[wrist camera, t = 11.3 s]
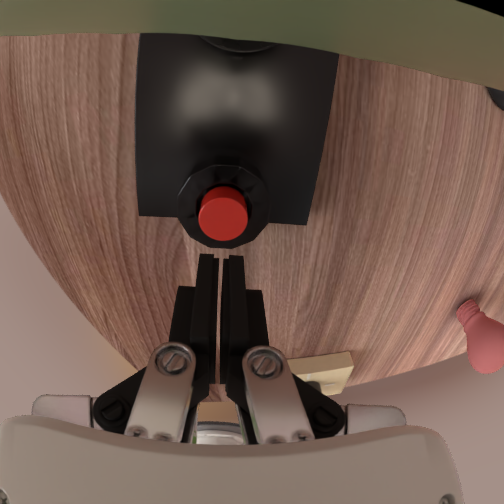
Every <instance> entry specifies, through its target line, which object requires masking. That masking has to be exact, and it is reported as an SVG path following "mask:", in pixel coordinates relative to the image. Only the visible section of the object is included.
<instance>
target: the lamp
mask: <svg viewBox="0 0 504 504" xmlns="http://www.w3.org/2000/svg"><path fill="white" fill-rule="evenodd" d="M65 33H108V34H126V33H178V34H194V35H199V36H200V37H201V38H202V39H204V40H205V41H206V42H208V43H210V44H212V45H213V46H216V47H218V48H221V49H224V50H228V51H234V52H255V51H261V50H264V49H268V48H270V47H273V46H275V45H277V44H279V43H283V44H290V45H297V46H303V47H309V48H315V49H320V50H325V51H329V52H334V53H338V54H343V55H347V56H351V57H354V58H360V59H367V60H373V61H379V62H384V63H389V64H394V65H398V66H403V67H407V68H411V69H415V70H419V71H423V72H426V73H430V74H433V75H437V76H440V77H444V78H450V79H455V80H460V81H465V82H470V83H474V84H479V85H483V86H487V87H491V88H494V89H498V90H501V91H504V0H0V36H38V35H49V34H65Z"/></svg>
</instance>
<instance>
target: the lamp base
mask: <svg viewBox="0 0 504 504" xmlns="http://www.w3.org/2000/svg"><path fill="white" fill-rule="evenodd" d="M338 60H339V54H338V53H334V52H329V51H325V50H320V49H315V48H309V47H303V46H297V45H290V44H283V43H279V44H277V45H275V46H273V47H270V48H268V49H264V50H261V51H255V52H234V51H228V50H224V49H221V48H218V47H216V46H213V45H212V44H210V43H208V42H206V41H205V40H204V39H202V38H201V37H200V36H199V35H194V34H178V33H140V37H139V47H138V58H137V71H136V90H135V164H136V183H137V198H138V210H139V216H154V217H178V219H179V221H180V223H181V224H182V226H183V227H184V229H185V230H186V232H187V233H188V235H189V236H190V237H191V238H193V239H195V240H196V241H198V242H200V243H202V244H204V245H206V246H207V247H210V248H226V249H232V248H236V247H238V246H241V245H243V244H246V243H248V242H251V241H253V240H254V239H255V238H256V237H257V236H258V235H259V233H260V232H261V231H262V230H263V229H264V228H265V226H266V225H267V224H268V223H281V224H294V225H307V221H308V217H309V212H310V208H311V204H312V199H313V195H314V190H315V185H316V181H317V176H318V171H319V166H320V162H321V157H322V152H323V147H324V141H325V136H326V131H327V126H328V120H329V115H330V109H331V103H332V97H333V91H334V85H335V79H336V73H337V66H338ZM221 186H226V187H231V188H234V189H236V190H237V191H239V192H240V193H241V194H242V195H243V197H244V198H245V201H246V206H247V215H248V223H247V226H246V228H245V230H244V231H243V232H242V233H241V234H240V235H239V236H238V237H236V238H234V239H231V240H226V241H220V240H215V239H212V238H210V237H209V236H207V235H206V234H205V233H204V232H203V231H202V229H201V227H200V225H199V219H198V218H199V212H200V207H201V203H202V200H203V198H204V196H205V195H206V193H208V192H209V191H210V190H212V189H214V188H216V187H221Z"/></svg>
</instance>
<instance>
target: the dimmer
mask: <svg viewBox="0 0 504 504" xmlns="http://www.w3.org/2000/svg"><path fill="white" fill-rule="evenodd" d="M287 361H288V364H289V367H290V370H291V372H292V373H293V374H295V375H296V376H298V377H299V378H301V379H302V380H303V381H305V382H308V381H315V382H318V383H319V384H320V386H321V391H322V393H323V394H324V395H326V396H327V395H332V394H338V393H341V392H342V390H343V388H344V386H345V384H346V382H347V380H348V378H349V376H350V374H351V372H352V370H353V368H354V364H353V361H352V358H351V355H350V352H349V351H347V352H341V353H334V354H328V355H321V356H314V357H306V358H298V359H290V360H287Z"/></svg>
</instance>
